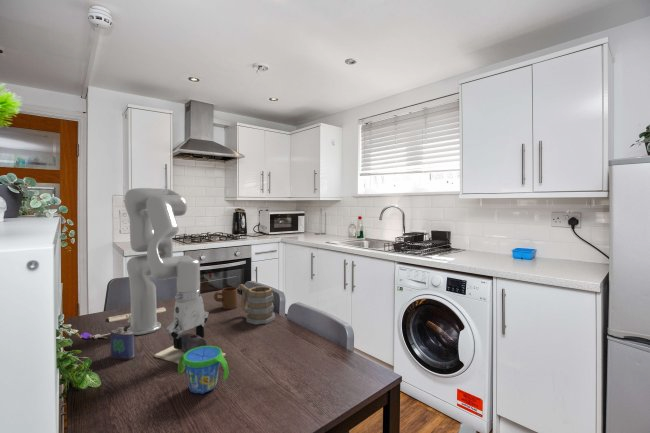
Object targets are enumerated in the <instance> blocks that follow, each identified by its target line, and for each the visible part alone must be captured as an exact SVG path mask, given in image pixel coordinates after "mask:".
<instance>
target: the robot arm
mask: <svg viewBox="0 0 650 433" xmlns="http://www.w3.org/2000/svg"><path fill="white" fill-rule="evenodd" d="M124 195H125V196H124V205H125V210H126V212H127V214H128V219H129V239H130V247H131V250H132V251H134V252H136V253H142V252H143V253H145V252H146V254H141V255H140V254H139V255H136V256H132V257H130V258H129V259H128V260H127V262H126V271H127V276H128V281H129V293H130V313H131V318H129V319H127V323H130V325H129V327H128V328H127V329H126V332H134V336H136V335H137V336H141V335H147V334H150V333H153V332H157V331H158V330H159V329H161V327H162V323H161V322H160V321H158V318H157V317H158V316H157V315H158V313H157V287H156V285H155V283H154V282H153V281H152V280H151V279H150V278H152V277H153V278H154V279H155V280H158V281H164V280H169V279H174V278H175V279H176V295H175V296H174V299H175V302H174V303H175V304H174V307H173V321H172V322H171V323H170V324H169V325H168V326H167V327H166V332H167V333H168V335H169V336H170V337H171V338H173V339H172V340H173V345H174V348H175V349H179V350H180V349H182V338H181V337H180V336H181V335H182V334H183V332H188V331H190V330H192V329H194V328H195V333H196V334H195V335H198V336H200V337H202V338H203V339H205V338H204V337H205V327H206V323H207V321H208V317H209V311H205V305H204V299H203V297H202V295H201V270H200V269H201V263H200V261H199V260H198V259H196V258H192V257H191V256H189V255H187V254H186V255H177V256H174V255H173V254H174V250H173V249H174V248H173V237H174V236H176V235H177V234H178V232H179V231H180V229H179V225H178V222H177V220H176V217H181V216H184V215H185V214H186V213H187V210H188V206H187V201H186V199H185V198H184V197H183V196H182V195H181V194H180V193H178V192H176V191H174V190H172V189H169V188H154V187H153V188H152V187H138V188H135V187H134V188H131V189H129V190H128V191H126V192H125V194H124Z"/></svg>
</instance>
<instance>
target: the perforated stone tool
mask: <svg viewBox="0 0 650 433" xmlns="http://www.w3.org/2000/svg"><path fill="white" fill-rule="evenodd" d="M180 337H181V338H182V349H180V350H181V351H182V352H184V353H186V352H188V351H189V350H191V349H194V348H197V347H201V346H208V342H207V340H206V339H205V338H202V337H200V336H198V335H196V334H194V333H187V332H185V333H182V334H181V336H180Z"/></svg>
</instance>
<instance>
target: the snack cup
mask: <svg viewBox="0 0 650 433" xmlns="http://www.w3.org/2000/svg"><path fill="white" fill-rule="evenodd" d="M222 353H223V351H222V349H221V348H220V347H218V346H214V345H207V346H201V347H197V348H194V349H191V350H189V351H188V352H186V353H185V354H184V355H182V356H181V357H180V360H179V363H177V364H178V365H177V373H178V374H182V373H184V372H185V371H186V372H185V373H186V377H187V384H188V388H189V391H190V392H191V393H194V394H202V395H203V394H205V393H208V392H210V391H213V390H215V388H216V386H217V384H218V380H219V372H220V366H221V367H222V369H223V375H222V376H223V378H222V381H223V382H225V381H226V380H227V379H228V377H229V374H230V370H229V365H228V362H227V360H226V358H225V356H224V357H223V356H222ZM184 364H185V365H184Z"/></svg>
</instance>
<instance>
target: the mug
mask: <svg viewBox="0 0 650 433" xmlns="http://www.w3.org/2000/svg"><path fill="white" fill-rule="evenodd" d="M218 296H221V297H219V298H218ZM213 299H214V300H215V301H216V302H219V303H221V307H222V309H224V310H233V309H235V308H237V307H238V287H233V286H232V287H231V286H229V287H224V288H222V289H221V291H217V292H215V293H214V295H213Z"/></svg>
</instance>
